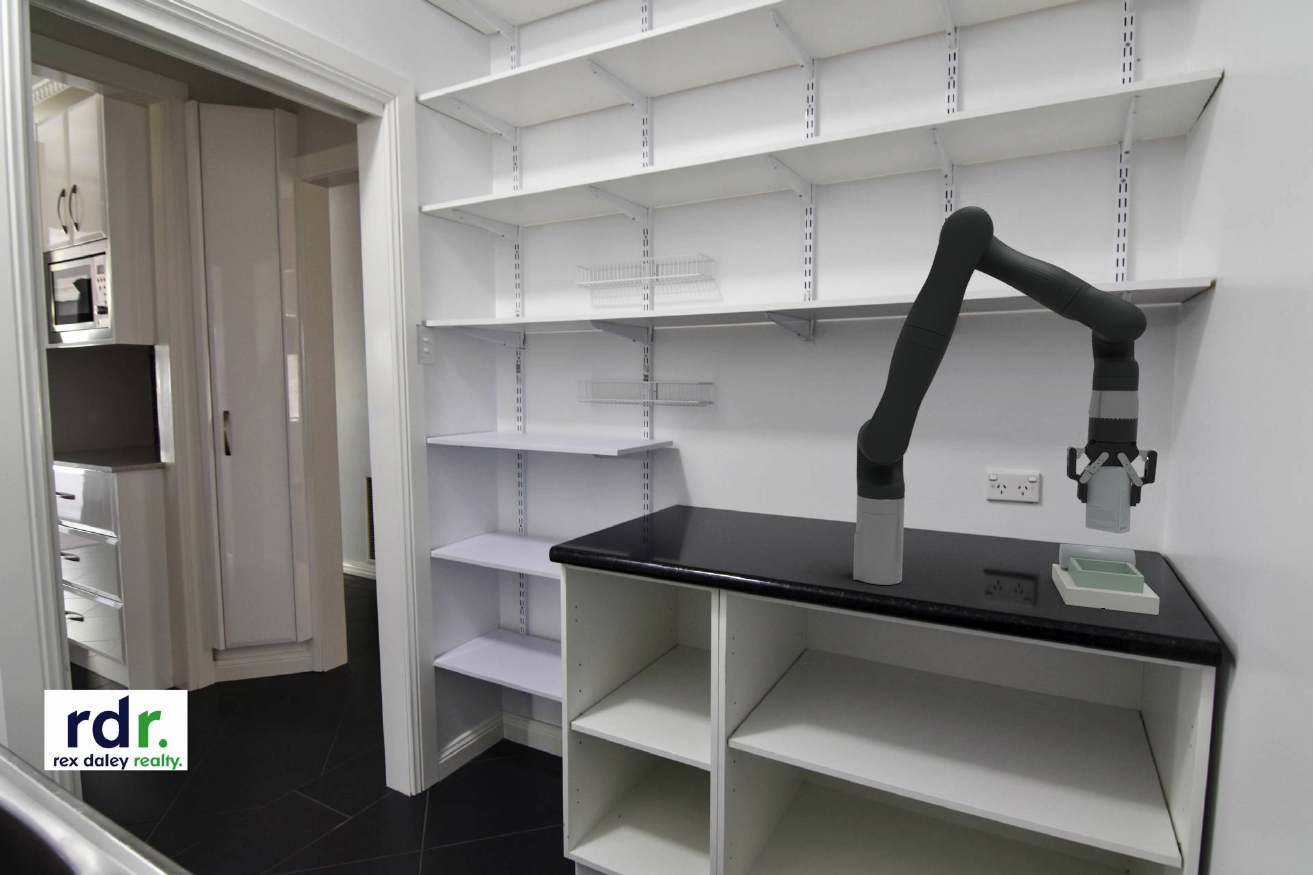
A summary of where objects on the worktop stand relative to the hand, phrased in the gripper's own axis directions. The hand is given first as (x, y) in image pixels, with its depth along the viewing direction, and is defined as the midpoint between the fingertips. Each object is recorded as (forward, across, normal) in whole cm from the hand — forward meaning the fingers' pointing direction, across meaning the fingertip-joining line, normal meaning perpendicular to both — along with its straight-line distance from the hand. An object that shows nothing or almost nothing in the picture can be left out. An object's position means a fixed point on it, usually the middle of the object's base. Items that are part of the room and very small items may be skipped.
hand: (1107, 504), depth 126 cm
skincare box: (+5, 0, 0) cm, 5 cm away
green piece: (+15, 0, 0) cm, 15 cm away
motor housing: (+18, 0, +2) cm, 18 cm away
